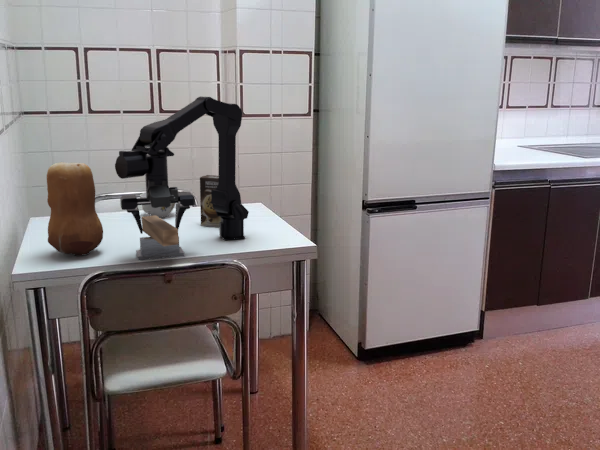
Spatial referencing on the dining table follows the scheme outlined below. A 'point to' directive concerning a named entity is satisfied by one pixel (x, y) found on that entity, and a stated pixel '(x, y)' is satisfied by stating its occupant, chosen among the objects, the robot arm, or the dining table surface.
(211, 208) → the coffee box
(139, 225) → the robot arm
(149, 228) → the batten
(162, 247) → the ridge
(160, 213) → the teacup
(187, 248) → the dining table surface
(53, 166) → the butternut squash
